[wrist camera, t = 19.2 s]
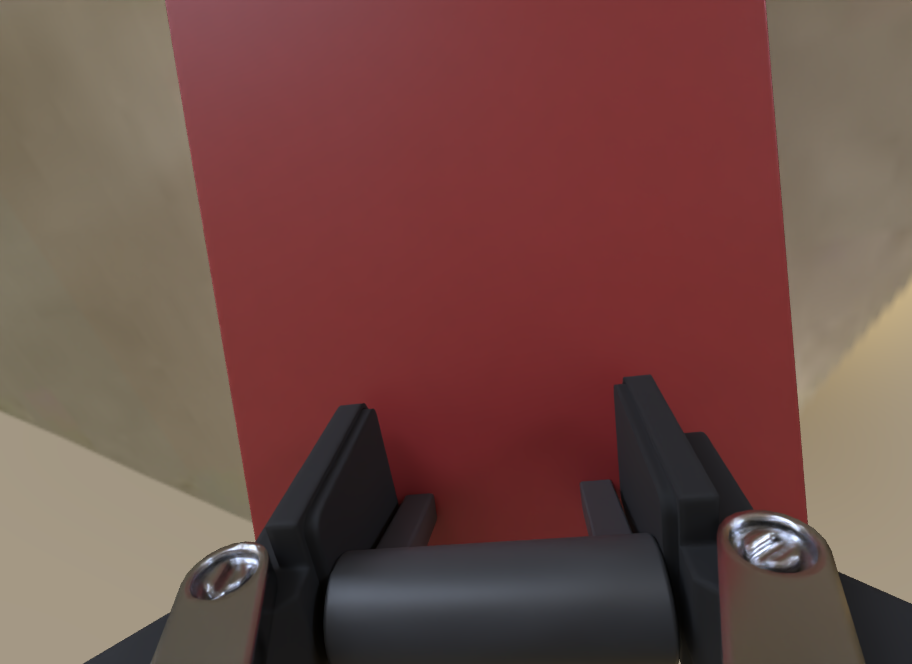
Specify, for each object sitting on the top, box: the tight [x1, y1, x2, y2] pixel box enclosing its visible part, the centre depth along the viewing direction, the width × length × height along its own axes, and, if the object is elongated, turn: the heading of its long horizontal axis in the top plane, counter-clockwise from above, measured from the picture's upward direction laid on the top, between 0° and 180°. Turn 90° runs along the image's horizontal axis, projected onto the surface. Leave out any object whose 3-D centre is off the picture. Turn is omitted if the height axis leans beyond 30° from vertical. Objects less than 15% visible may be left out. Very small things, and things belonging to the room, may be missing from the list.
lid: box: [165, 0, 808, 664], centre depth 10 cm, size 16×13×6 cm
